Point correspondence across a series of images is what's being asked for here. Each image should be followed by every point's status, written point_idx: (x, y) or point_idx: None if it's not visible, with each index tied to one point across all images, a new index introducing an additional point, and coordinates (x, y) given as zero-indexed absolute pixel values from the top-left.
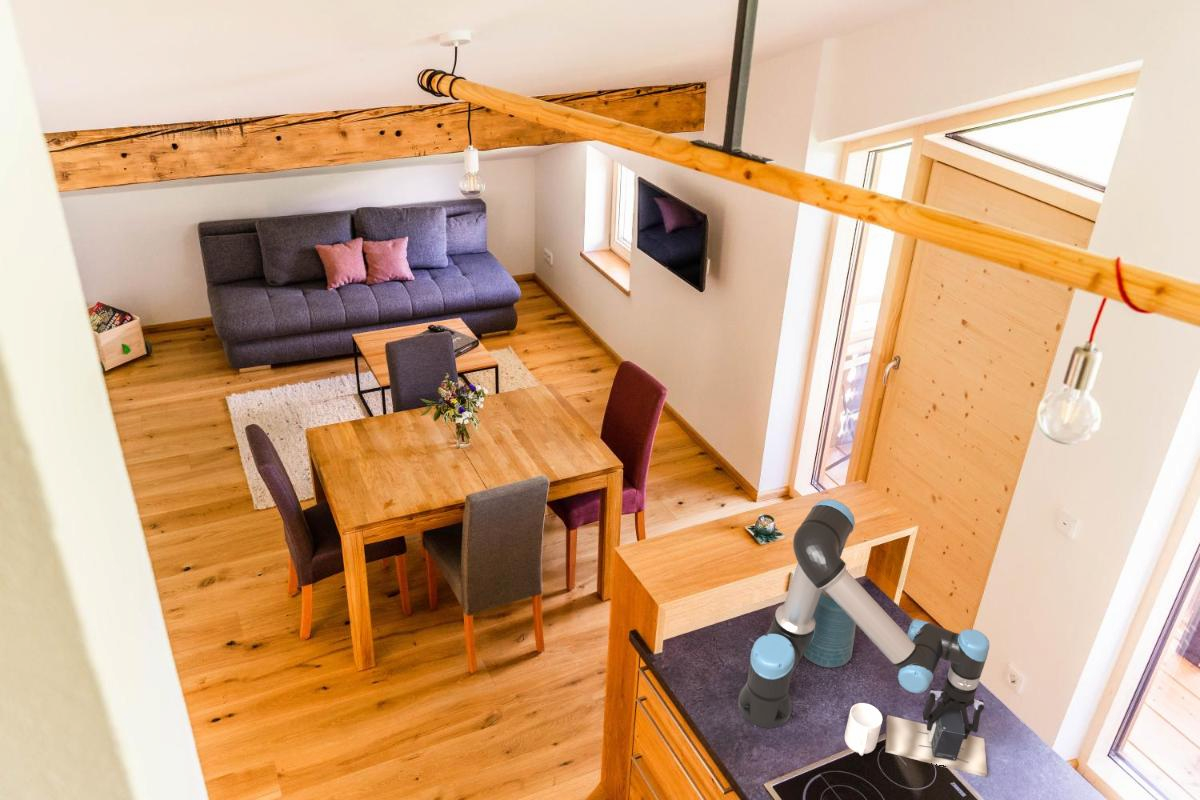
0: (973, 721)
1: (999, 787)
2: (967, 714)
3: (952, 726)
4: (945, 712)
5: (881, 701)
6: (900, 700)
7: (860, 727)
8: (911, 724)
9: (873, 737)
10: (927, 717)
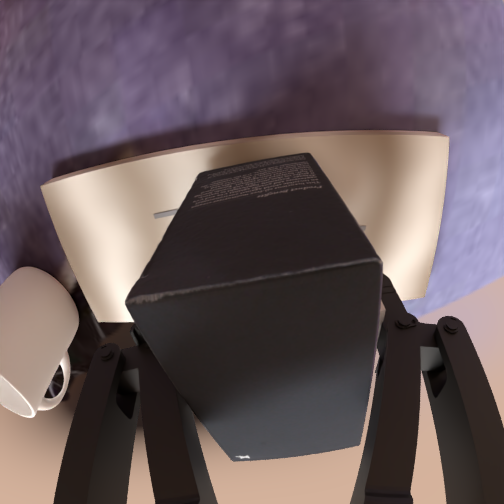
0: (442, 400)
1: (443, 299)
2: (416, 418)
3: (291, 445)
4: (231, 394)
5: (19, 106)
6: (69, 50)
7: (15, 405)
8: (124, 185)
9: (51, 379)
10: (135, 403)
